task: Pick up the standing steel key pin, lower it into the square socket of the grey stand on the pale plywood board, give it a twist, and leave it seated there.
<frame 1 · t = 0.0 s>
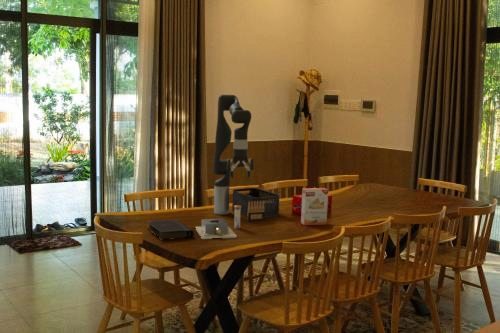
hand: (239, 177, 302), 29 cm above the table, tool pointing down, fingers open, 8 cm apart
ammunition clip: (255, 220, 332), on the table
diary: (169, 234, 298), on the table
grey stand: (214, 231, 303), on the table
cracker box: (313, 224, 326), on the table
storage bin: (255, 213, 352), on the table
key: (237, 228, 312), on the table
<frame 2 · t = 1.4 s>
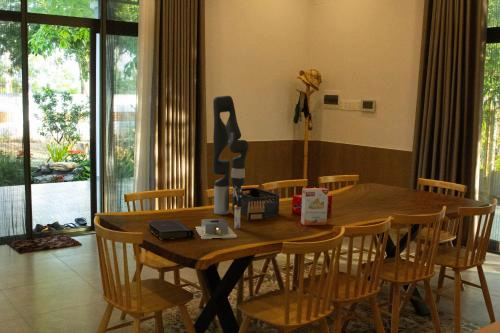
hand: (237, 205, 311), 13 cm above the table, tool pointing down, fingers open, 8 cm apart
nothing on the table moved.
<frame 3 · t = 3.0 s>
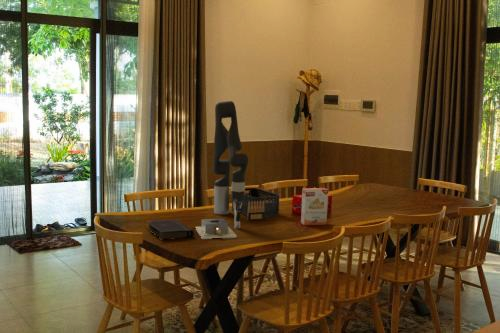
hand: (237, 220, 312), 4 cm above the table, tool pointing down, fingers closed on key, 3 cm apart
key: (237, 228, 312), on the table, touching gripper
everything else where it was.
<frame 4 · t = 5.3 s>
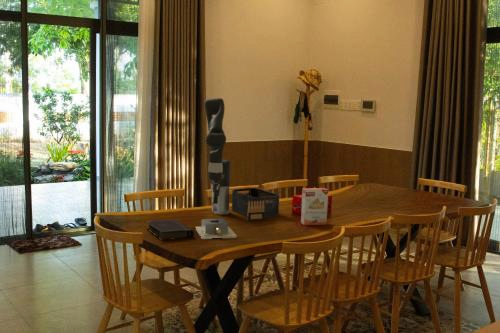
hand: (214, 202, 301), 16 cm above the table, tool pointing down, fingers closed on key, 3 cm apart
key: (214, 210, 302), point 12 cm above the table, touching gripper
everything else where it was.
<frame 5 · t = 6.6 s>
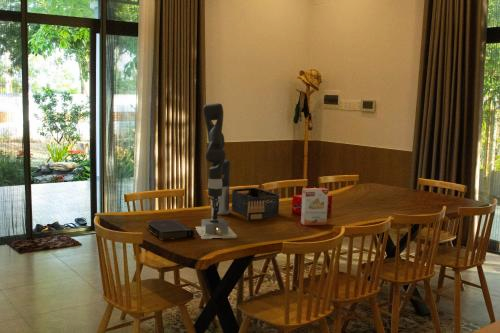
hand: (214, 218, 302), 7 cm above the table, tool pointing down, fingers closed on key, 3 cm apart
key: (214, 226, 303), point 3 cm above the table, touching gripper
everything else where it was.
when the fingers open (7 cm above the table, at t = 7.6 s): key stays where it is, resting on grey stand.
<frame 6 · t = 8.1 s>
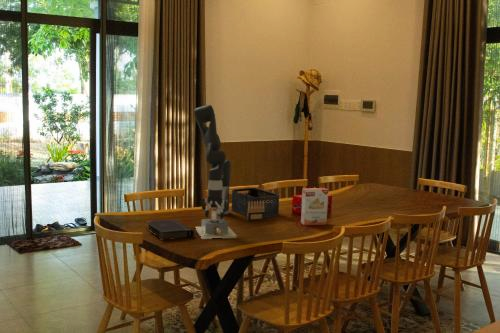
hand: (214, 218, 302), 7 cm above the table, tool pointing down, fingers open, 7 cm apart
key: (214, 229, 303), point 1 cm above the table, touching grey stand
everything else where it was.
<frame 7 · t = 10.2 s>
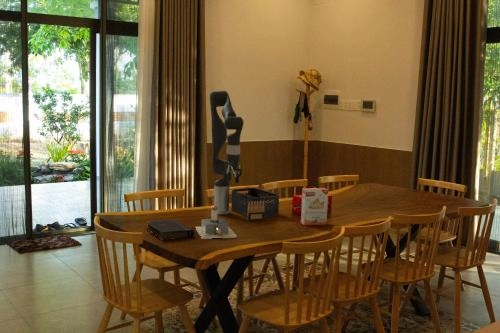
hand: (233, 181, 313), 25 cm above the table, tool pointing down, fingers open, 8 cm apart
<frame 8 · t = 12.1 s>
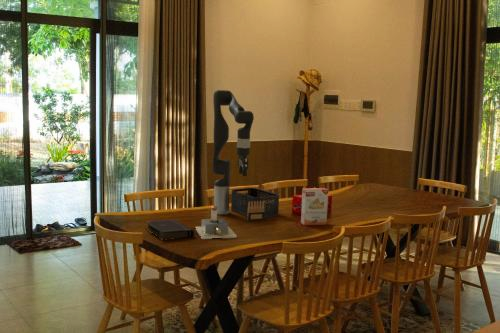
hand: (242, 175, 319), 28 cm above the table, tool pointing down, fingers open, 8 cm apart
nothing on the table moved.
at the end: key 0.3 cm off-centre on the grey stand, point 1.3 cm above the grey stand's base; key tilted 2°; the gripper is holding nothing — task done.
